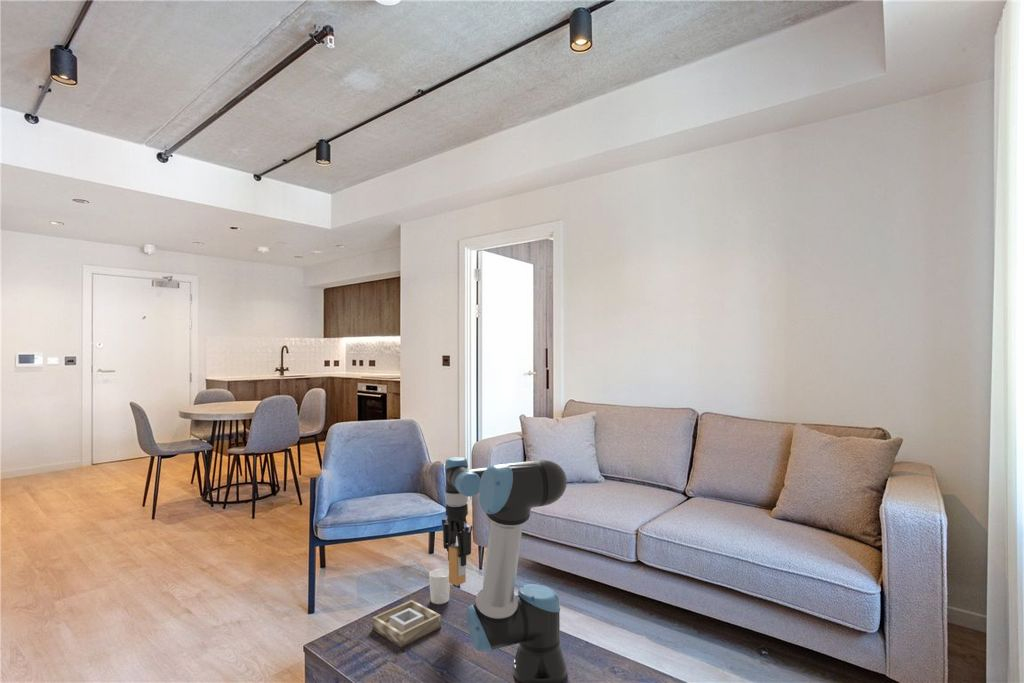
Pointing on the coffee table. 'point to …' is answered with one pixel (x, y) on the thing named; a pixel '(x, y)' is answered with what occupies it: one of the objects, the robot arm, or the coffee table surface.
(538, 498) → the robot arm
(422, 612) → the box
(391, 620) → the socket
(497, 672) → the coffee table surface
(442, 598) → the white cup
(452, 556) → the connector
